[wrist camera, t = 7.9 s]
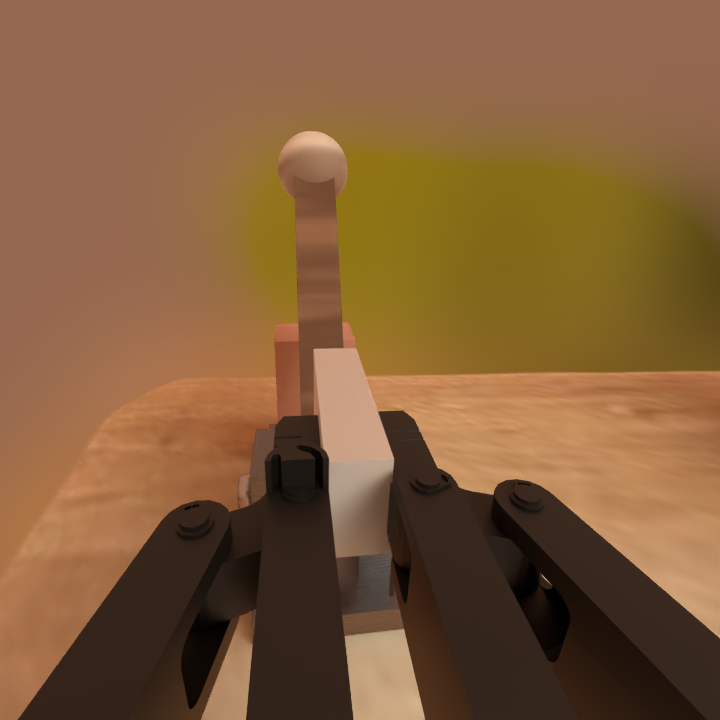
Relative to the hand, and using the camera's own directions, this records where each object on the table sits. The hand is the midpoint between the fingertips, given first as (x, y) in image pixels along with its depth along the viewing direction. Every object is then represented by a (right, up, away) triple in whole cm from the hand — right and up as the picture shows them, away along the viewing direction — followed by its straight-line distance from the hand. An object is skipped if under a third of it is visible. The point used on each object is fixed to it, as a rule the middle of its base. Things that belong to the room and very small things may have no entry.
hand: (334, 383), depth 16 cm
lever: (-1, -6, +7) cm, 9 cm away
